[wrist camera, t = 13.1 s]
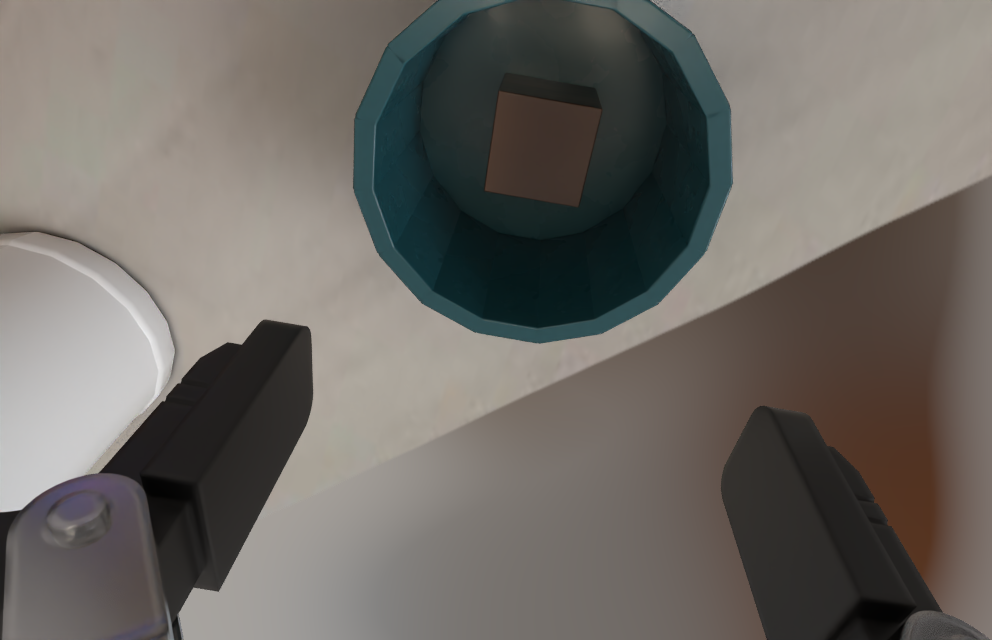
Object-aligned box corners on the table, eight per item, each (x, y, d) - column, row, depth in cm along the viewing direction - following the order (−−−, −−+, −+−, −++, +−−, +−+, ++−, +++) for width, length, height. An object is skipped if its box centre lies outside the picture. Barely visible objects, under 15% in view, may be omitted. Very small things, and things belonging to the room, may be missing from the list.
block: (595, 88, 27) (603, 108, 24) (575, 177, 30) (579, 208, 26) (505, 72, 27) (498, 90, 24) (491, 162, 30) (483, 191, 26)
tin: (721, -5, 25) (800, 13, 17) (634, 266, 33) (662, 365, 25) (418, -60, 25) (357, -69, 17) (399, 224, 32) (350, 311, 24)
